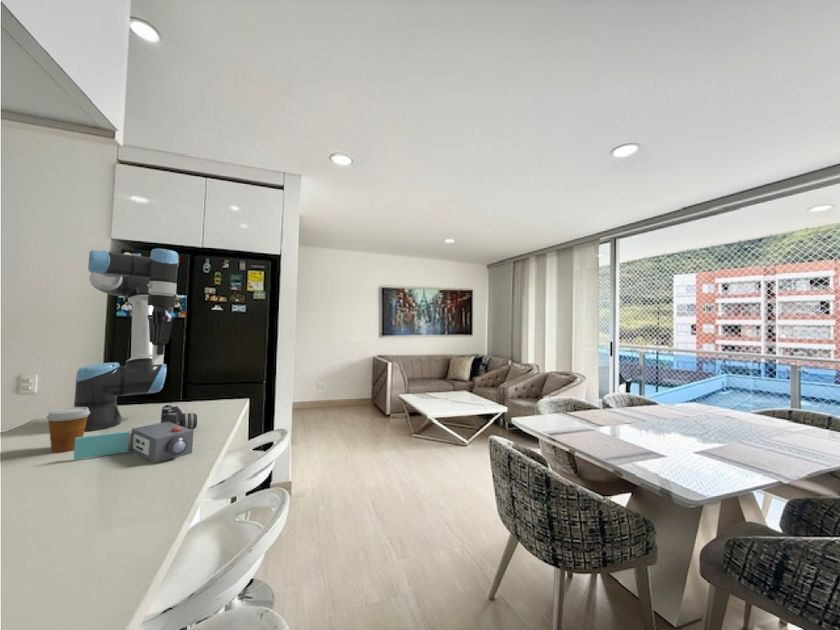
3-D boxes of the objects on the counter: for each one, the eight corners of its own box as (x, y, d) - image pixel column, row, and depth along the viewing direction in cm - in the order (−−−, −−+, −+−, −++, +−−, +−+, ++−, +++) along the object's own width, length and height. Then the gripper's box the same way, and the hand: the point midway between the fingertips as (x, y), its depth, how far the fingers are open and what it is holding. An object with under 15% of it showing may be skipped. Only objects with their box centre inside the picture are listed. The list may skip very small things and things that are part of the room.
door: (131, 449, 106) (132, 430, 106) (130, 451, 104) (132, 431, 104) (75, 457, 98) (76, 436, 98) (73, 459, 97) (75, 438, 97)
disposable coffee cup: (54, 456, 99) (58, 415, 99) (36, 451, 102) (39, 411, 102) (94, 446, 108) (97, 408, 108) (76, 441, 111) (79, 405, 111)
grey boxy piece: (129, 451, 105) (131, 426, 105) (166, 442, 114) (168, 419, 114) (158, 465, 96) (159, 438, 96) (196, 454, 105) (197, 429, 105)
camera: (200, 436, 122) (202, 408, 122) (162, 442, 114) (164, 413, 114) (191, 426, 132) (193, 400, 132) (156, 431, 124) (158, 404, 124)
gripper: (140, 294, 114) (135, 363, 114) (158, 293, 108) (153, 367, 107) (165, 296, 121) (160, 361, 120) (184, 295, 115) (179, 365, 114)
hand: (157, 364), depth 114 cm, fingers closed
